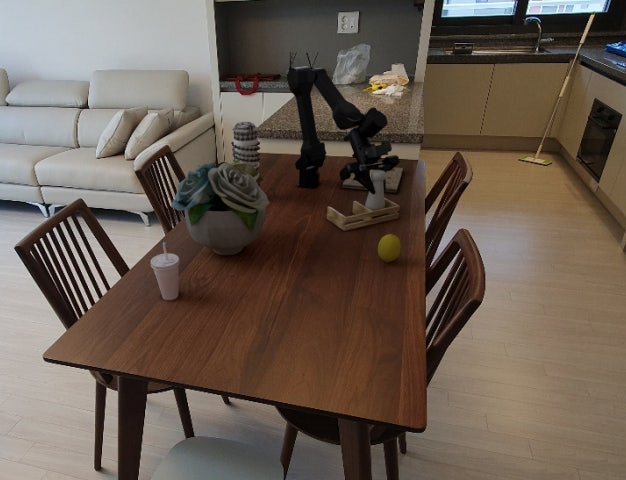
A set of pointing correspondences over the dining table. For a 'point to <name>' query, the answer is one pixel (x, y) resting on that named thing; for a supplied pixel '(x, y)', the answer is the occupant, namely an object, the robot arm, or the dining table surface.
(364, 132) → the robot arm
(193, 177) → the flower arrangement
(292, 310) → the dining table surface
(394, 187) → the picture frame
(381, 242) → the lemon
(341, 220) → the rack
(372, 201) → the salt shaker
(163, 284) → the smoothie
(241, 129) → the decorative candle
